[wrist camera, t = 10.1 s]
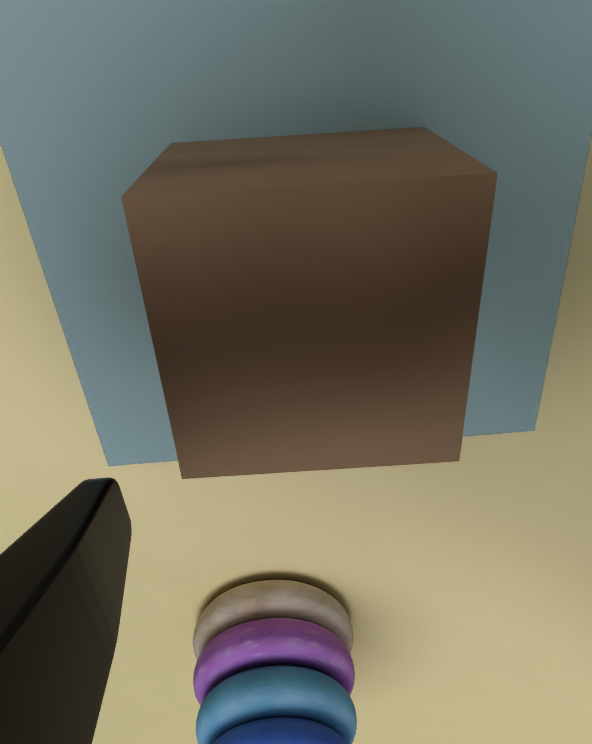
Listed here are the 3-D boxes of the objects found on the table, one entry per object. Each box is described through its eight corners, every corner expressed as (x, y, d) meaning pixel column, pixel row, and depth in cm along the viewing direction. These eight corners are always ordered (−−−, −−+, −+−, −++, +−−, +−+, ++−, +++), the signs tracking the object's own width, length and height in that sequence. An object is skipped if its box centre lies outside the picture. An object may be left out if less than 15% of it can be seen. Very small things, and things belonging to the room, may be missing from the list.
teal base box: (492, 367, 21) (534, 430, 18) (134, 397, 21) (108, 466, 18) (554, -101, 14) (644, -144, 11) (9, -52, 14) (-74, -78, 11)
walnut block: (410, 348, 16) (459, 461, 12) (206, 361, 16) (182, 478, 12) (424, 127, 13) (497, 173, 9) (171, 142, 13) (120, 196, 9)
